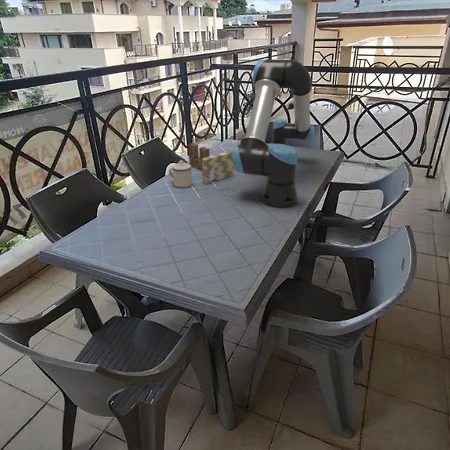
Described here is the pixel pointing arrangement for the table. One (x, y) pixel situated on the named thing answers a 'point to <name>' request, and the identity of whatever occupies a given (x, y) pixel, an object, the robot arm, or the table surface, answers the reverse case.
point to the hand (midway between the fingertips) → (237, 160)
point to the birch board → (218, 166)
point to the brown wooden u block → (194, 156)
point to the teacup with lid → (181, 174)
